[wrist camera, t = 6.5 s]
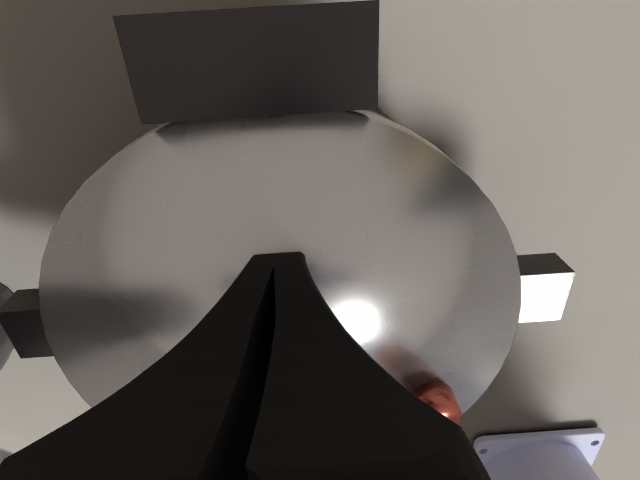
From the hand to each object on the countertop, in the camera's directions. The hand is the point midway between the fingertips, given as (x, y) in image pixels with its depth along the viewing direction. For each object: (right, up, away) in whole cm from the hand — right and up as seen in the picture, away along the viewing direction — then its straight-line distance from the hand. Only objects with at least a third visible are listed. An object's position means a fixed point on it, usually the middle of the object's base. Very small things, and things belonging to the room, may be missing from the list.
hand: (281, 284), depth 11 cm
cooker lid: (0, -1, +2) cm, 2 cm away
